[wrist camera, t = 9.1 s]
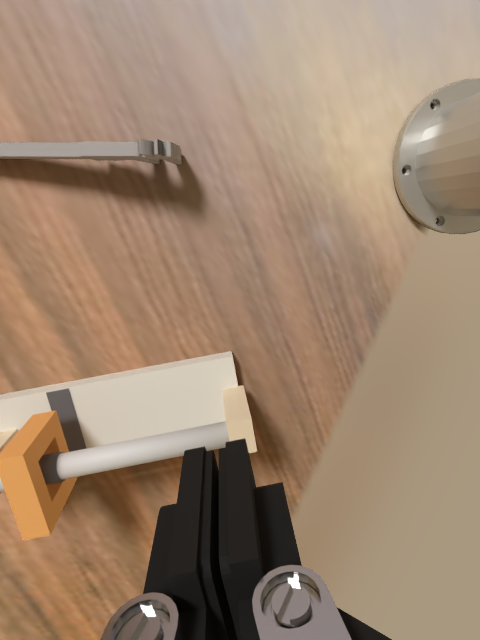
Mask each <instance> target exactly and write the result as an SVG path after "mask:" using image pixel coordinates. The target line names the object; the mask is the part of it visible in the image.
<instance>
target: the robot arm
mask: <svg viewBox="0 0 480 640" xmlns="http://www.w3.org/2000/svg"><path fill="white" fill-rule="evenodd" d="M430 104H431V105H432V109H431V107H430ZM402 168H403V169H404V173H402ZM393 177H394V182H395V187H396V191H397V193H398V196H399V198H400V200H401V203H402V204H403V206H404V207H405V209H406V210H407V212H408V213H409V214H410V215H411V216H412V217H413V218H414V219H415V220H416V221H417V222H419V223H420V224H422V225H424V226H425V227H427V228H429V229H432V230H434V231H437V232H441V233H449V234H466V233H471V232H476V231H479V230H480V78H479V79H465V80H461V81H458V82H454V83H451V84H449V85H447V86H445V87H443V88H441V89H439V90H437V91H436V92H434V93H433V94H431V95H429V96H428V97H427V98H426V99H425V100H423V101H422V102H421V103H420V104H419V105H418V106H417V107H416V108H415V109H414V111H413V112H412V113H411V115H410V116H409V117H408V119H407V120H406V122H405V124H404V126H403V128H402V130H401V132H400V134H399V137H398V140H397V143H396V146H395V152H394V159H393ZM436 219H437V222H436V223H435V220H436ZM100 640H392V639H390V638H388V637H386V636H385V635H383V634H381V633H380V632H378V631H376V630H374V629H373V628H371V627H369V626H368V625H366V624H364V623H363V622H361V621H359V620H358V619H356V618H354V617H352V616H351V615H349V614H347V613H346V612H344V611H342V610H341V609H339V608H337V607H336V605H335V603H334V601H333V599H332V596H331V594H330V592H329V590H328V588H327V586H326V584H325V583H324V581H323V580H322V578H321V577H320V576H319V575H318V574H317V573H315V572H314V571H313V570H311V569H309V568H306V567H303V566H302V565H301V561H300V557H299V552H298V548H297V544H296V539H295V535H294V531H293V526H292V522H291V518H290V513H289V509H288V505H287V500H286V496H285V492H284V487H283V483H277V484H272V485H267V486H262V487H257V488H256V485H255V480H254V475H253V471H252V466H251V462H250V457H249V452H248V448H247V443H246V439H245V438H244V439H239V440H234V441H229V442H226V448H222V449H219V470H218V466H217V462H216V458H215V454H214V451H213V450H212V451H206V448H205V446H204V447H199V448H194V449H189V450H185V451H184V457H183V464H182V471H181V478H180V485H179V492H178V499H177V504H172V505H167V506H162V507H161V508H160V511H159V515H158V520H157V525H156V531H155V536H154V541H153V546H152V551H151V556H150V561H149V566H148V572H147V577H146V582H145V587H144V592H143V594H141V595H139V596H137V597H135V598H133V599H131V600H129V601H128V602H127V603H125V604H124V605H123V606H121V607H120V608H119V609H118V610H117V611H116V613H115V614H114V615H113V616H112V617H111V619H110V620H109V622H108V624H107V626H106V628H105V629H104V632H103V634H102V637H101V639H100Z"/></svg>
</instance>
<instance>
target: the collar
mask: <svg viewBox="0 0 480 640" xmlns="http://www.w3.org/2000/svg"><path fill="white" fill-rule="evenodd" d="M56 452H63V453H66V452H69V450H68V447H67V443H66V440H65V437H64V434H63V431H62V427H61V424H60V421H59V418H58V415H57V411H50V412H45V413H40V414H35V415H32V416H31V417H30V419H29V420H28V421H27V422H26V423H25V425H24V426H23V427H22V428H21V429H20V430H19V432H18V433H17V434H16V435H15V436H14V437H13V439H12V440H11V441H10V442H9V443H8V444H7V446H6V447H5V448H4V449H3V450H2V452H1V453H0V479H1V482H2V484H3V487H4V490H5V493H6V495H7V498H8V501H9V503H10V506H11V509H12V512H13V514H14V517H15V520H16V522H17V525H18V528H19V531H20V533H21V536H22V539H23V541H24V540H28V539H33V538H38V537H43V536H48V535H51V533H52V531H53V529H54V526H55V524H56V522H57V520H58V518H59V516H60V514H61V512H62V510H63V508H64V505H65V503H66V501H67V499H68V497H69V495H70V493H71V491H72V489H73V487H74V484H75V482H76V480H77V477H74V478H69V479H66V480H65V481H63V482H59V483H54V484H48V485H46V483H45V480H44V477H43V474H42V471H41V468H40V465H39V462H38V461H39V460H40V458H41V457H42V455H46V454H51V453H56Z"/></svg>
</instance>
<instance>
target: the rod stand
mask: <svg viewBox="0 0 480 640" xmlns="http://www.w3.org/2000/svg"><path fill="white" fill-rule="evenodd" d="M50 411H57V415H58V418H59V421H60V424H61V427H62V431H63V434H64V437H65V440H66V443H67V447H68V450H69V452H66V453H63V452H56V453H51V454H46V455H42V457H41V458H40V460H39V461H38V462H39V465H40V468H41V471H42V474H43V477H44V480H45V483H46V485H48V484H54V483H59V482H63V481H65V480H66V479H69V478H74V477H79V476H84V475H89V474H94V473H99V472H104V471H109V470H114V469H119V468H124V467H129V466H134V465H139V464H144V463H149V462H154V461H159V460H164V459H169V458H174V457H179V456H184V451H185V450H189V449H194V448H199V447H204V446H205V448H206V451H210V450H215V449H220V448H225V447H226V442H229V441H234V440H239V439H244V438H245V439H246V443H247V448H248V452H249V453H253V452H257V447H256V442H255V436H254V430H253V425H252V419H251V415H250V411H249V406H248V402H247V398H246V394H245V390H244V386H243V385H242V386H238V383H237V377H236V372H235V366H234V361H233V356H232V351H229V352H224V353H218V354H213V355H208V356H202V357H197V358H192V359H187V360H181V361H176V362H171V363H165V364H160V365H155V366H149V367H144V368H139V369H134V370H128V371H123V372H118V373H112V374H107V375H102V376H96V377H91V378H86V379H80V380H75V381H70V382H65V383H59V384H54V385H49V386H43V387H38V388H33V389H27V390H22V391H17V392H12V393H6V394H1V395H0V453H1V452H2V450H3V449H4V448H5V447H6V446H7V444H8V443H9V442H10V441H11V440H12V439H13V437H14V436H15V435H16V434H17V433H18V432H19V430H20V429H21V428H22V427H23V426H24V425H25V423H26V422H27V421H28V420H29V419H30V417H31V416H32V415H35V414H40V413H45V412H50ZM3 491H5V490H4V487H3V484H2V482H1V479H0V493H1V492H3Z"/></svg>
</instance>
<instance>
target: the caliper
mask: <svg viewBox="0 0 480 640" xmlns="http://www.w3.org/2000/svg"><path fill="white" fill-rule="evenodd" d="M0 159H93V160H114V161H117V160H137V161H142V162H147V163H153V164H160V159H163V160H166V161H169V162H171V163H174V164H181V149H180V146H178V145H176V144H174V143H172V142H162V141H160V140H158V139H155V140H154V142H152V141H148V140H143V139H139V142H79V143H0Z"/></svg>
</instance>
